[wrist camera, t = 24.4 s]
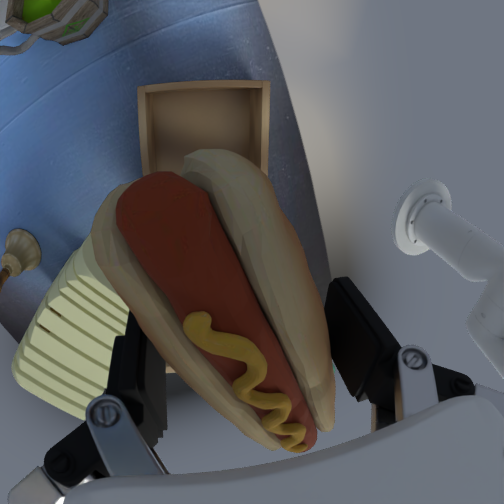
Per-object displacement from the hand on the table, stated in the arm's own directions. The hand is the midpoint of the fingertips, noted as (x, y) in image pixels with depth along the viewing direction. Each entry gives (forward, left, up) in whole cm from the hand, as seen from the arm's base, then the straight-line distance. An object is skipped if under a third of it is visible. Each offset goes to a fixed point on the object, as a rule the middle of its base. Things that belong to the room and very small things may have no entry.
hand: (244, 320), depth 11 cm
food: (0, 0, -1) cm, 1 cm away
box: (0, -1, -33) cm, 33 cm away
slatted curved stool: (+20, +21, -33) cm, 44 cm away
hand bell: (+34, +12, -33) cm, 49 cm away
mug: (+21, -24, -33) cm, 46 cm away
